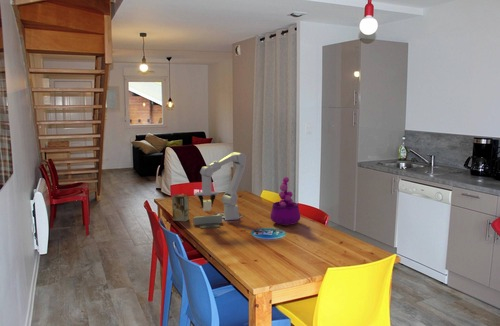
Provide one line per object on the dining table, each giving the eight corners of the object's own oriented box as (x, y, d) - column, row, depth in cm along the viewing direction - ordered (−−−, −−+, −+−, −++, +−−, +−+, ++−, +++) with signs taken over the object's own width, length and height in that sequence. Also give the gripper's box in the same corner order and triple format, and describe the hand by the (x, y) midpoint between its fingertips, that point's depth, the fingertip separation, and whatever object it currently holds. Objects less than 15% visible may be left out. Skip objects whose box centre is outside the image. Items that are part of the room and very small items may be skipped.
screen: (221, 222, 265) (221, 214, 264) (222, 223, 264) (221, 215, 263) (193, 224, 260) (193, 217, 259) (193, 225, 259) (193, 217, 258)
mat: (217, 223, 263) (217, 222, 262) (220, 227, 255) (220, 226, 255) (198, 225, 259) (198, 224, 259) (200, 228, 252) (200, 228, 251)
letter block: (210, 208, 266) (209, 199, 265) (211, 210, 261) (211, 200, 260) (202, 209, 264) (202, 199, 263) (203, 211, 259) (203, 201, 259)
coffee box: (189, 219, 272) (189, 195, 270) (185, 221, 266) (184, 197, 264) (176, 217, 275) (176, 194, 273) (172, 220, 269) (171, 196, 267)
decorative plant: (298, 228, 252) (299, 180, 248) (268, 227, 256) (268, 178, 251) (301, 220, 270) (302, 174, 266) (272, 218, 274) (273, 173, 269)
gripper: (196, 187, 254) (196, 209, 256) (219, 186, 258) (219, 207, 260) (194, 185, 261) (194, 206, 263) (217, 184, 265) (217, 205, 267)
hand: (206, 207), depth 262 cm, fingers closed on letter block, 5 cm apart
